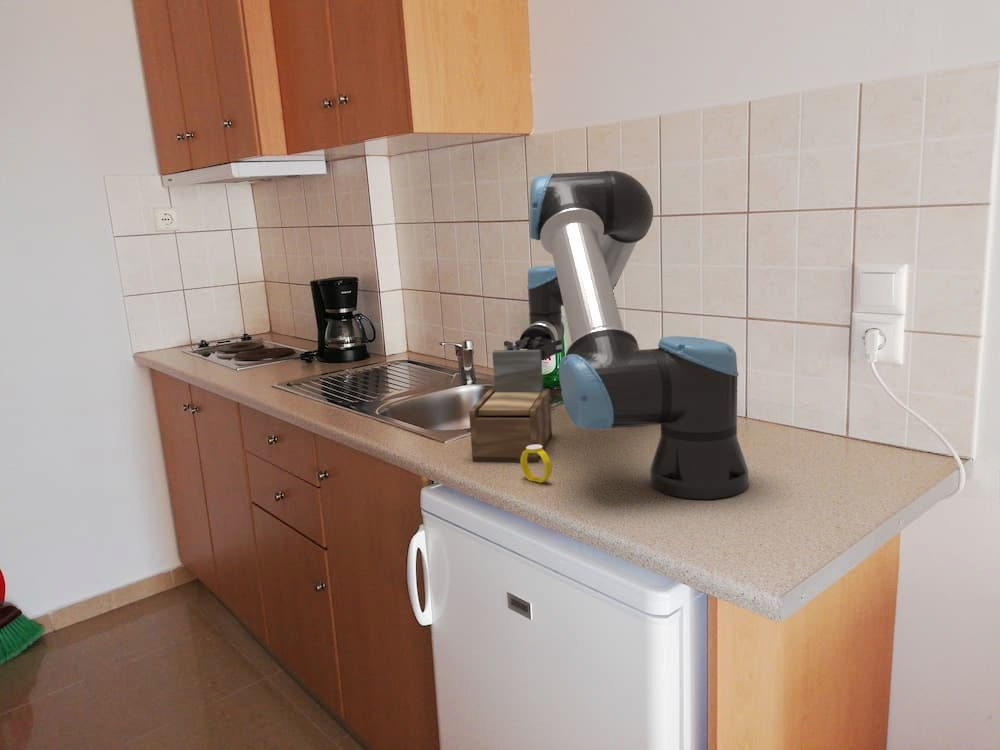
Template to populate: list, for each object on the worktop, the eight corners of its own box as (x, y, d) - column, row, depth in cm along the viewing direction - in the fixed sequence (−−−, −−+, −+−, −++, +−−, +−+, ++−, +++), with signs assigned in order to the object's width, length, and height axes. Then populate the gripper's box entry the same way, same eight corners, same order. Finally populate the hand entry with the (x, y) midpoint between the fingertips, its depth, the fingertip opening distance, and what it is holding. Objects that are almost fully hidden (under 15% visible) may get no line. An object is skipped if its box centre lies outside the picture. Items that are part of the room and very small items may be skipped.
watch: (555, 482, 130) (554, 447, 129) (544, 487, 128) (542, 452, 127) (529, 474, 134) (527, 441, 133) (518, 479, 132) (516, 445, 131)
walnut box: (537, 462, 140) (535, 410, 138) (472, 461, 143) (469, 410, 141) (551, 435, 155) (549, 388, 153) (492, 435, 158) (489, 389, 156)
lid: (529, 415, 140) (526, 365, 138) (479, 415, 142) (475, 366, 140) (543, 394, 154) (541, 349, 153) (497, 394, 157) (494, 350, 155)
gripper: (568, 356, 176) (551, 380, 154) (511, 357, 179) (486, 381, 157) (567, 323, 174) (549, 342, 152) (509, 324, 177) (484, 344, 155)
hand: (517, 362), depth 154 cm, fingers closed
